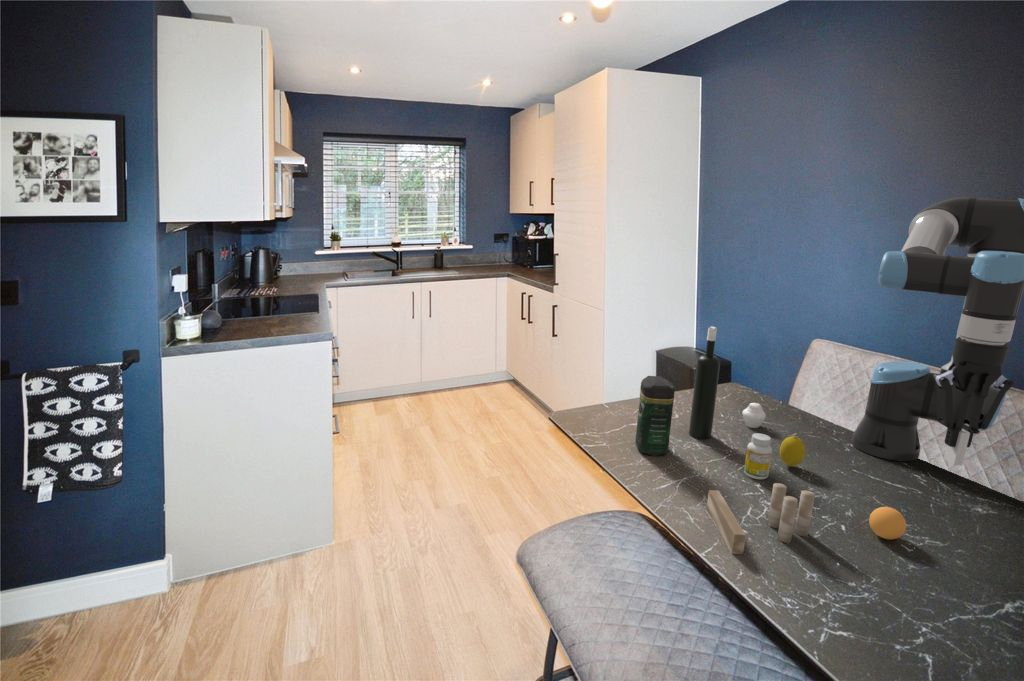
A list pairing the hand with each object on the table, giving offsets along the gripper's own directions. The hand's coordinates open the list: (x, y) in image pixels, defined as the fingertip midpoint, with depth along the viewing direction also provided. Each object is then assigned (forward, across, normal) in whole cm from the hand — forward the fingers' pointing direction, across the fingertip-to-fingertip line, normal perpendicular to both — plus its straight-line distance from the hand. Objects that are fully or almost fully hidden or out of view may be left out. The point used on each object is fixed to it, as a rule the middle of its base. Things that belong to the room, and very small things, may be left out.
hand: (952, 462), depth 110 cm
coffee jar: (+17, -48, +36) cm, 62 cm away
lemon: (+17, -16, +29) cm, 37 cm away
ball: (+13, -10, 0) cm, 16 cm away
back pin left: (+16, -30, -2) cm, 34 cm away
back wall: (+16, -40, 0) cm, 44 cm away
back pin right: (+16, -30, +3) cm, 34 cm away
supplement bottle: (+17, -26, +24) cm, 39 cm away
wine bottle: (+17, -32, +46) cm, 59 cm away
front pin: (+16, -26, 0) cm, 30 cm away
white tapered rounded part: (+17, -16, +54) cm, 59 cm away
